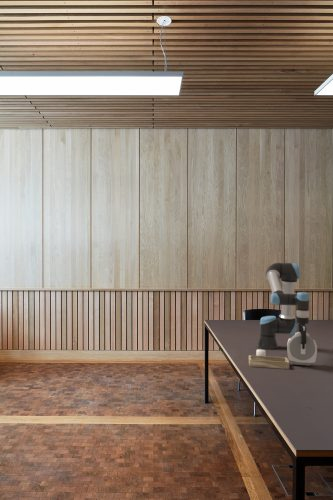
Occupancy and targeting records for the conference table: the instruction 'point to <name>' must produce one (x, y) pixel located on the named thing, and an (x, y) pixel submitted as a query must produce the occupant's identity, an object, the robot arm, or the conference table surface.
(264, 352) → the white rounded cylinder
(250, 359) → the tray
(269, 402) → the conference table surface
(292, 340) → the alarm clock
